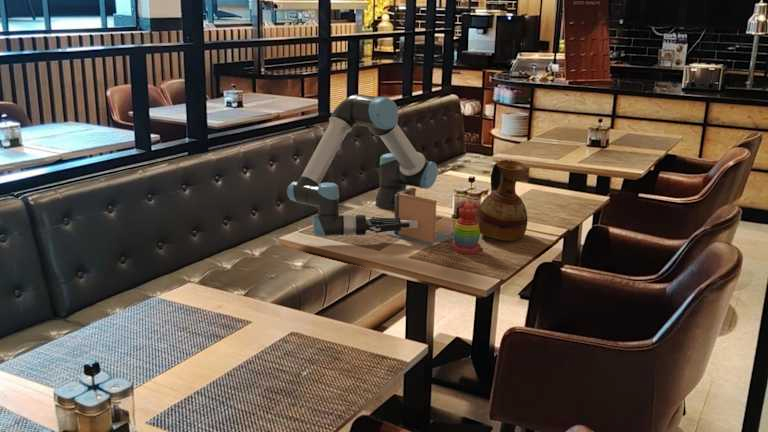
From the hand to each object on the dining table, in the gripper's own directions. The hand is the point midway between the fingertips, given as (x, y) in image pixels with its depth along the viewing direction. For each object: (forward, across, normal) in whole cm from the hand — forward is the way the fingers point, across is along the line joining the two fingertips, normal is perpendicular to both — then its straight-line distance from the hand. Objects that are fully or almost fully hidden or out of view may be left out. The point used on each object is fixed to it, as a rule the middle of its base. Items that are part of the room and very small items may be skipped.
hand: (417, 223), depth 277 cm
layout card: (+2, -6, -7) cm, 10 cm away
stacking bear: (+16, +11, -7) cm, 21 cm away
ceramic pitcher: (+33, -3, -7) cm, 34 cm away
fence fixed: (-3, -12, -6) cm, 14 cm away
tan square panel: (0, -2, -6) cm, 6 cm away
